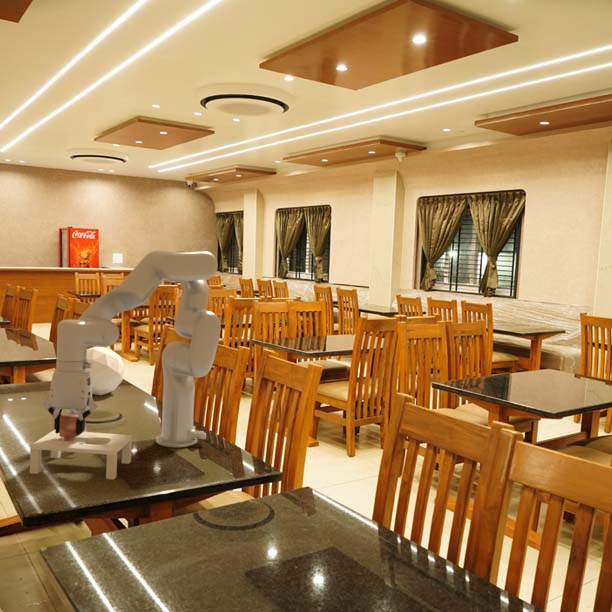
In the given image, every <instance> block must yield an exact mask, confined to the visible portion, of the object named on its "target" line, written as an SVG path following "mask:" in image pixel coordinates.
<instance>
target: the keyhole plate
mask: <svg viewBox="0 0 612 612" xmlns="http://www.w3.org/2000/svg"><path fill="white" fill-rule="evenodd" d="M74 441H84V442H72V441H64V437H60V436H59V433H55V429H53V430H52V431H50V432H49V433H47V434H45V435H43V437H41V438H40V439H38V440H36V441H35V442H33V443H32V444H30V448H29V449H30V454H29V456H30V457H29V474H32V475H33V474H35V475H38V474H39V473H41V472H42V453H43V452H42V451H50V458H51V459H60V458H61V453H62V452H64V451H66V452H76V453H79V454H80V453H82V454H94V455H106V471H105V473H106V474H105V480H115V479H116V478H117V471H118V470H117V469H118V452H120V451H121V464H130V463H131V462H132V450H133V449H132V447H133V446H132V445H133V435H131V434H119V433H118V434H117V433H108V432H107V433H106V432H105V433H104V432H90V431H86V432H83V433H81V434H80V435H79V436H76V437H74ZM86 442H87V443H86ZM88 442H89V443H88ZM90 442H91V444H90ZM92 442H105V444H92Z"/></svg>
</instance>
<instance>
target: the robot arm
mask: <svg viewBox="0 0 612 612" xmlns="http://www.w3.org/2000/svg"><path fill="white" fill-rule="evenodd" d="M217 260H218V259H217V258H216V256H215V255H214V254H213V253H211V252H209V251H205V250H194V249H193V250H192V249H181V250H178V251H168V250H167V251H166V250H153V251H150V252H148V253H147V254H146V255H145V256H144V257H143V258H141V260H140V261H139V262H138V263H137V265H136V266H135V267H134V268H133V270H131V271H130V272H129V274H128V275H127V276H126V277H125V279H123V280H122V281H121V282H120V283H119V285H117V286H114V287H113V288H112V289H110V290H109V291H107V292H106V293H104V294H103V295H102V296H101V295H100V297H98V298H97V299H95V300H94V301H93V302H92V303H90V305H89V306H88V307H87V309H86V310H85V311H84V312H83V313H82V314H81V315H80V316H79V318H78V319H63V320H60V321H59V322H58V324H57V330H56V331H57V335H56V336H57V337H56V363H55V364H56V367H55V370H53V373H52V378H51V382H50V389H49V396H48V397H47V398H46V399H45V400H44V402H43V403H42V407H43V408H45V409H46V410H47V411H48V412H49V413H50V415H51V416H52V418H53V419H54V421H53V422H54V424H53V425H54V427H53V428H54V429H53V430H55V433H59V428H60V416H62V415H63V410H65V409H76V410H77V414H78V420H77V425H76V434H77V435H80V434H81V433H83V431H84V430H85V427H86V426H85V425H86V418H87V417H89V416H90V415H91V414H92V413H94V412H95V411H96V410H97V409H99V406H98V404H97V403H96V401H94V398H93V394H92V384H91V377H90V372H89V371H87V370H86V369H87V368H91V366H92V364H91V363H88V362H87V349H88V347H105V348H108V347H111V346H112V345H114V344H115V343H116V342H117V341H118V340H119V338H120V329H119V327H118V325H117V324H116V323H115V322H114V321H111V320H112V319H113V318H114V317H116V316H117V315H118V314H121V313H123V312H125V311H128V310H132V309H135V308H138V307H140V306H142V305H144V304H145V303H146V302H147V300H149V298H150V297H151V296H152V294H153V293H154V292H155V291H156V289H157V288H158V287H159V286H160V285H161V284H162V283H163V282H164V281H167V282H179V283H180V287H181V292H180V293H181V294H180V297H179V298H180V299H179V303H178V306H177V311H176V316H175V320H174V327H173V328H174V330H175V332H176V334H177V335H178V336H180V337H183V338H186V339H190V342H186V341H183V340H182V341H181V340H178V341H177V340H176V341H175V340H174V341H172V342H169V343H168V344H167V345H166V346H165V347H164V349H163V350H162V354H161V366H162V375H163V393H162V413H161V415H162V417H161V433H160V434H159V435H157V436H156V438H155V443H157V444H158V445H159V446H162V447H166V448H187V447H190V446H193V445H196V443H197V442H198V439H200V440H206V438H207V433H206V432H204V430H197V429H196V425H194V410H195V409H194V408H195V394H196V393H195V392H196V391H195V388H196V387H195V386H196V384H195V379H194V378H202V377H205V376H206V375H207V374H208V373H209V372H210V371H211V369H212V367H213V364H214V361H215V358H216V352H217V350H218V349H217V348H218V345H219V340H220V335H221V329H222V327H221V321H220V318H219V316H218V315H217V314H216V313H214V312H212V311H211V310H208V309H207V307H208V301H209V294H210V289H209V284H208V281H207V280H209V279H211V278H212V277H214V275H215V274H216V272H217V270H218V266H219V265H218V261H217ZM87 407H89V408H88V409H87ZM85 408H86V409H85Z"/></svg>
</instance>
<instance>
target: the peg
mask: <svg viewBox="0 0 612 612" xmlns="http://www.w3.org/2000/svg"><path fill="white" fill-rule="evenodd" d="M61 415H62V416H60V428H59V436H60V437H64V440H63V441H72V442H74V437H76V436H79V435H77V434H76V425H77V420H78V415H76V414H67V413H66V414H61ZM77 454H78V452H66V451H62V452H61V456H60V458H61V459H63V460H71V459H75V458H77V456H78V455H77Z"/></svg>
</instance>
